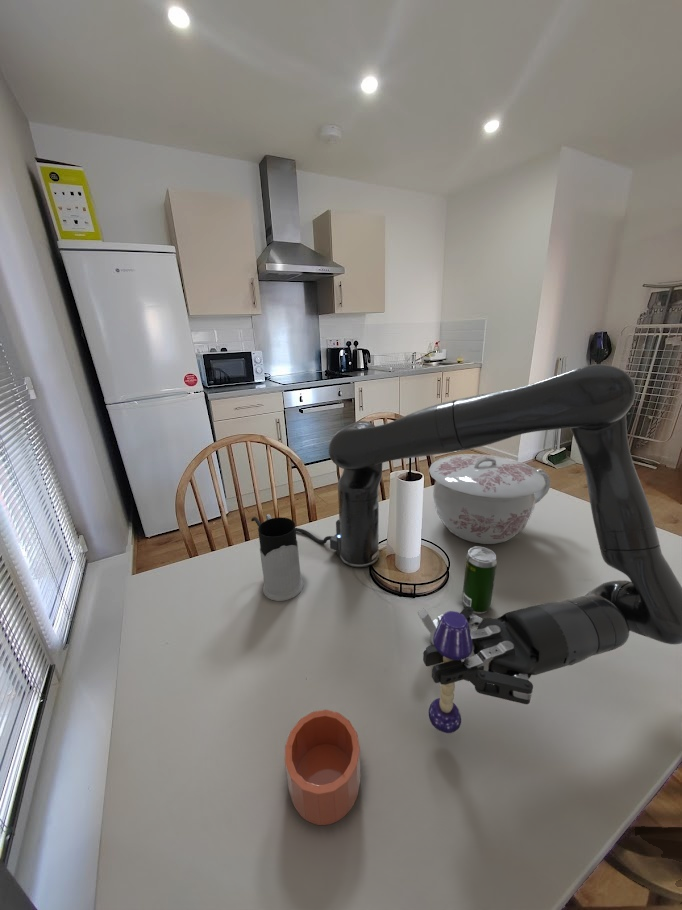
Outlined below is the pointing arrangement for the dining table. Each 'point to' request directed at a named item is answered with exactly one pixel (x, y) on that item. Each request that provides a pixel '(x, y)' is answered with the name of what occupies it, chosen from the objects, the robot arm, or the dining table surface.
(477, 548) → the beer can
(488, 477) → the chamber pot
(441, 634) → the toy lamp
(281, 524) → the glass holder
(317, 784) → the orange cylindrical pot
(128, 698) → the dining table surface
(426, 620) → the lighter
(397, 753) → the dining table surface
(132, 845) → the dining table surface
